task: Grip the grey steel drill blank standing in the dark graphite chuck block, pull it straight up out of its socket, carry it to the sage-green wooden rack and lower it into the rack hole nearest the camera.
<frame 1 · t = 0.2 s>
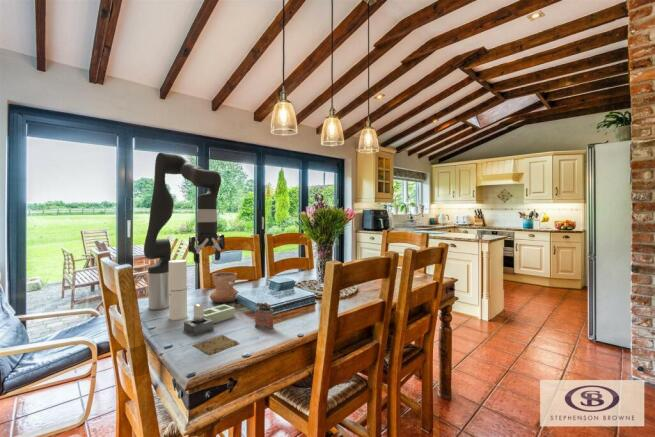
hand: (207, 261, 122), 27 cm above the table, fingers open, 8 cm apart
tan flat square slab: (216, 346, 110), on the table
chuck block: (198, 330, 123), on the table
ceramic jug: (224, 301, 162), on the table
lighter: (264, 328, 125), on the table
cylindrical container: (178, 317, 137), on the table
drill blank: (198, 327, 123), point 1 cm above the table, touching chuck block
rack: (215, 319, 135), on the table
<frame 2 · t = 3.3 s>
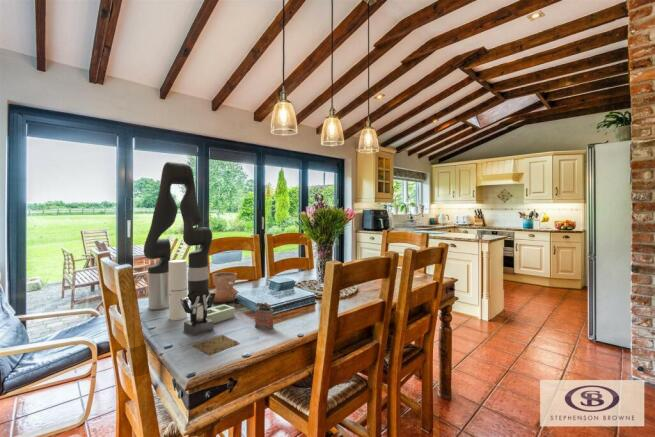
hand: (198, 320, 122), 4 cm above the table, fingers closed on drill blank, 3 cm apart
drill blank: (198, 327, 123), point 1 cm above the table, touching chuck block, gripper
everything else where it was.
when the fingers open (4 cm above the table, at t = 9.3 s): drill blank drops 1 cm, resting in rack.
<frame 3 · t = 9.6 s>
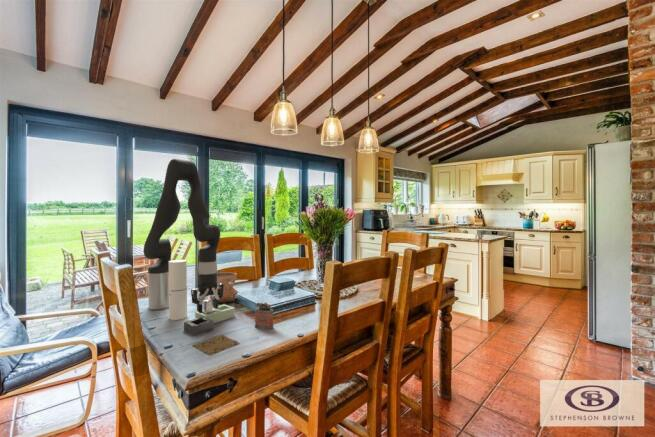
hand: (208, 310, 132), 5 cm above the table, fingers open, 6 cm apart
drill blank: (208, 321, 132), resting in rack
everything else where it was.
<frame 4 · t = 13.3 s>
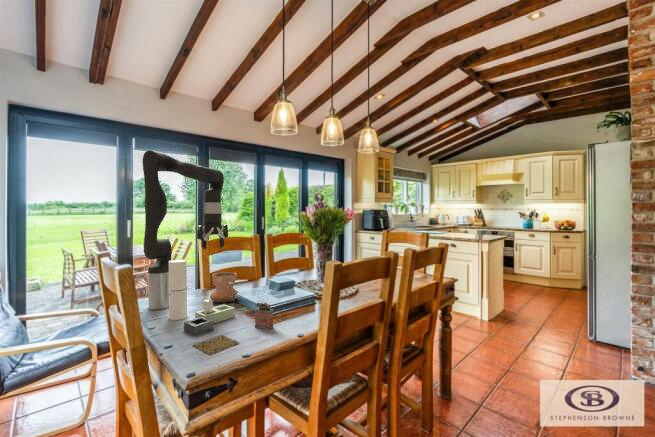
hand: (213, 247, 142), 30 cm above the table, fingers open, 8 cm apart
nothing on the table moved.
at the end: drill blank 0.0 cm from the target spot on the rack, point 0.0 cm above the rack's base; drill blank tilted 0°; the gripper is holding nothing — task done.
